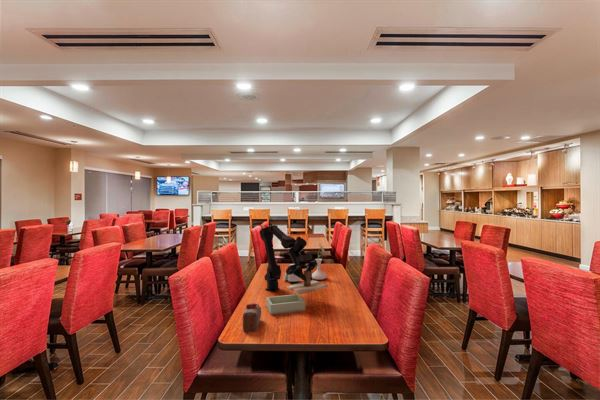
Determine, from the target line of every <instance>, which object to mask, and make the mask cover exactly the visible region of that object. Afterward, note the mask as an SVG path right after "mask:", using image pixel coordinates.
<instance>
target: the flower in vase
mask: <svg viewBox="0 0 600 400" xmlns="http://www.w3.org/2000/svg"><path fill="white" fill-rule="evenodd" d="M318 247H319V250H318V251H317V258H315V259H314V261H316V262H317V264H318V265H317V266H316V267H317V268H316V270H315V271H314V272H312V280H316V281H317V280H318V281H319V280H321V281H322V280H326V279H327V278H328V276H327V274H326V273H325V272H324V271H323V270H322V268H321V263H322V261H323V258H320V257H321V256H322V255H321V254H320V250H321V251H322V252H323V253H325V252H326V251H325V248H324V246H323V245H322V243H320V242H319V243H318Z"/></svg>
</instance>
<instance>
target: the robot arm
mask: <svg viewBox="0 0 600 400" xmlns="http://www.w3.org/2000/svg"><path fill="white" fill-rule="evenodd" d="M258 234H259V236H260V239H261V240H262V242H263V244H264V249H265V253H266V254H265V255H266V258H267V264H268V265H267V268H266V274H264V276H263V277H264V280H265V281H266V288H265V290H266V291H268V292H269V291H270V292H276V291H277V290H280V287H279V280H280V279H281V275H282V270H281V265H280V264H278V263H277V259H276V255H275V250H274V244H273V239H274V236H275V237H276V238H277V239H278V241H280V244H281V246H282V247H283V249H285V250H286V249H287V253H286V256H290V258H291V260H292V261H291V264H294V265H290V264H289V265H288V267H287V268H286V269H285V273H287V275H290V274H292V271H294V275H296V276H298V277H299V278H300V280H302V282H304V281H305V282H306V281H307V280H306V278H305V276H304V271H311V281H312V280H313V278H312V274H313V272H312V271H313V270H315V268H316V267H317V265H318V264H317V261H316V260H312V258H313V255H312V253H311V252H307V253H306V254H301V252H302V251H303V250H304V248H305V247H306V246H307V245H308V242H307V240H306V239H304V238H303V237H301V236H297V237H296V238H294V237H293V236H291V235H287V234H286V233H285V232H283V230H281V229H280V228H279V227H278V225H276V224H272V225H268V226H266V227H262V228H260V230H259V232H258ZM303 269H304V271H303Z"/></svg>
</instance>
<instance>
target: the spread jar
mask: <svg viewBox="0 0 600 400" xmlns="http://www.w3.org/2000/svg"><path fill="white" fill-rule="evenodd" d="M289 265H294V263H291V264H289ZM300 280H301V278H299V277H298V276H296V275H294V271H292V274H290V275H287V273H286V272H285V273H284V275H283V281H285V282H286V281H288V283H289V284H297V283H301V282H300Z"/></svg>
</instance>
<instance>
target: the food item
mask: <svg viewBox="0 0 600 400" xmlns="http://www.w3.org/2000/svg"><path fill="white" fill-rule="evenodd" d="M261 317H262V307H261V306H260V305H259V304H258V303H254V302H251V303H246V306H245V308H244V310H243V314H242V318H241V319H242V330H243V332H257V331H258V327H259V326H260V321H261Z"/></svg>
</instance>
